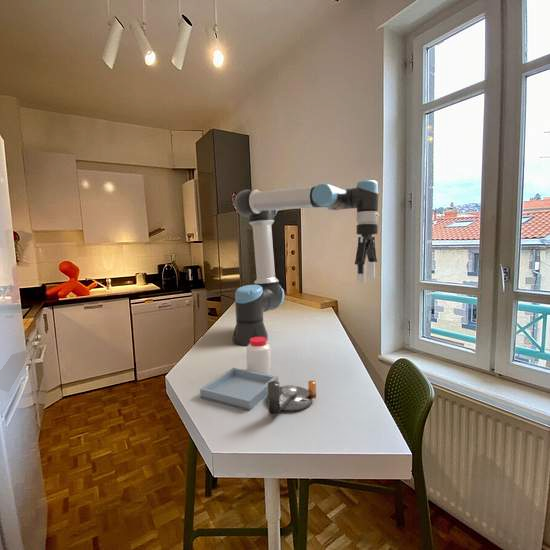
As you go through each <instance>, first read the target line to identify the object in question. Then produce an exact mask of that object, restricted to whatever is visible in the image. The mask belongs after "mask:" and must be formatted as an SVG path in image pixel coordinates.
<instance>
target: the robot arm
mask: <svg viewBox="0 0 550 550" xmlns="http://www.w3.org/2000/svg"><path fill="white" fill-rule="evenodd" d="M234 208H235V210H236V213H238V214H239V215H241V216H242V217H245V218H248V224H249V225H250V226H252V235H253V245H254V246H253V248H254V261H255V273H256V279H255V280H254V281H253V284H248V285H242V286H241V287H238V288H237V289H236V290H235V294H234V295H235V297H234V301H235V303H234V304H235V322H236V323H235V327H234V331H233V334H232V343H234V344H236V345H238V346H239V345H240V346H248V345H249V344H250V338H252V337H265V338H266V339H267V341H269V338H268V336H269V335H268V332H267V328H266V325H265V323H264V313H266V312H269V311H273V310H276V309H277V308H279V307H280V306H282V304H283V303H284V300H285V291H284V289H283V288H282V286H281V285H280V281H279V279H278V278H277V277H276V272H275V271H276V270H275V267H276V266H275V257H274V256H275V254H274V248H273V247H274V244H273V241H274V240H273V231H272V230H273V229H272V226H273V224H274V223H275V216H276V215H277V214H278V211H281V210H295V209H299V210H300V209H311V208H315V209H317V208H327V210H329V211H339V210H348V209H349V210H351V209H356V235H361V236H358V237H357V248H356V255H355V259H354V260H355V261H354V265H357V266H356V283H357V284H358V283H359V284H360V283H361V284H365V283H366V278H367V279H376V277H375V276H376V275H375V273H376V271H375V270H376V263H377V262H378V259H377V253H376V252H377V251H376V242H375V240H376V239H375V236H373V235H377V234H378V231H379V230H378V227H379V225H378V224H377V223H378V217H380V214H379V212H378V210H379V184H378V181H376V180H373V179H366V180H365V179H364V180H359V181H358V182H357V183H356V187H353V188H341V187H338V186H335V185H332V184H330V183H319V184H318V185H316V186H314V185H313V186H304V187H297V188H296V187H294V188H283V189H274V190H273V189H272V190H262V191H261V190H259V189H243V190H241V191H239V193H237V195H236V196H235V199H234ZM366 258H367V267H366V263H365V262H366ZM366 268H367V269H366ZM366 270H367V271H366ZM366 272H367V273H366ZM366 276H367V277H366Z"/></svg>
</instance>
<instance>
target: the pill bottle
mask: <svg viewBox="0 0 550 550" xmlns="http://www.w3.org/2000/svg"><path fill="white" fill-rule="evenodd" d="M267 341H268V340H267V339H266V338H265V337H252V338H250V344H249V345H246V367H247V368H246V370H247V371H252V372H258V373H263V374H268V375H270V373H271V371H272V368H271V367H272V366H271V365H272V362H271V358H272V357H271V356H272V355H271V345H270V344H269V343H268V342H267Z"/></svg>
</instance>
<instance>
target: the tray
mask: <svg viewBox="0 0 550 550" xmlns="http://www.w3.org/2000/svg"><path fill="white" fill-rule="evenodd" d="M271 381H277V382H279V376H277V375H273V374H272V375H271V374H263V373H258V372H252V371H247V369H241V368H237V367H232V368H230V369H229V370H228V371H226V372H224V373H223V374H221V375H220V376H218V377H217V378H215V379H213V380H212V381H210V382H209V383H207V384H206V385H204V386H202V387H201V388H200V389H199V395H200V399H205V400H209V401H211V402H216V403H220V404H222V405H226V406H229V407H230V406H231V407H234V408H239V409H241V410H245V411H249V412H251V410H253V408H255V406H257V405H258V404H259V403H260V402H261V401H262V400H263V399H264V398H265V397H266V396H267V395H268V383H269V382H271Z"/></svg>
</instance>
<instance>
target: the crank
mask: <svg viewBox="0 0 550 550" xmlns="http://www.w3.org/2000/svg"><path fill="white" fill-rule="evenodd" d="M283 386H284V387H282V386H281V387H282V395H281V396H280V388H279V387H280V382H279V381H278V382H277V381H271V382H269V383H268V394H267V395H268V402H267V404H268V406H267V407H268V414H270V415H275V416H276V415H278V414H280V413H281V409H282V408H283V407H284V406H285V405H286V404H287V403H288V402H289V401H290V399H292V398H295V397H297V387H296V385H292V384H291V385H290V384H286V385H283Z"/></svg>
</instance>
